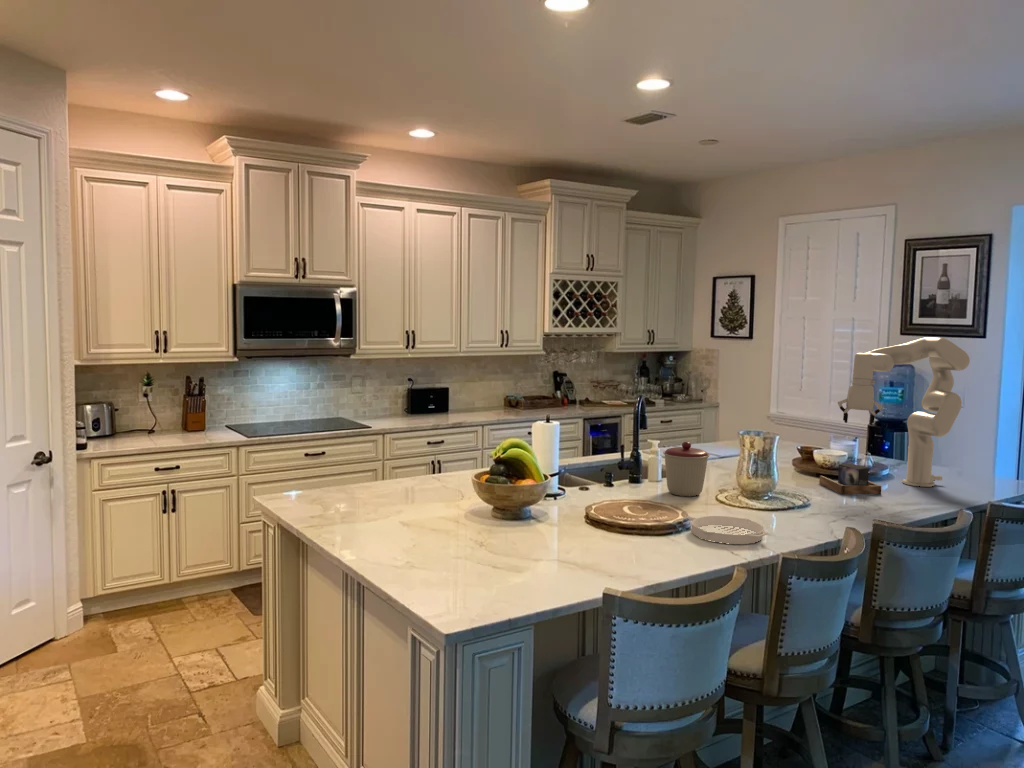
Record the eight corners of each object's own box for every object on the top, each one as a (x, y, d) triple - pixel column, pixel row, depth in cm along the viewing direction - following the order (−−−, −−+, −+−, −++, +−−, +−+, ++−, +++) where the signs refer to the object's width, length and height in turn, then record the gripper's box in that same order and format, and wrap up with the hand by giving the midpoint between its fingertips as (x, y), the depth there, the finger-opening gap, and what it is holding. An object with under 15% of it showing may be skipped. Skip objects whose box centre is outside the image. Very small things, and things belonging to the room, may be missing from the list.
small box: (836, 488, 326) (837, 463, 325) (847, 487, 328) (849, 462, 327) (857, 493, 316) (858, 468, 315) (868, 492, 319) (869, 467, 318)
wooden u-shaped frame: (856, 483, 335) (856, 475, 335) (880, 494, 315) (881, 486, 315) (819, 483, 334) (819, 475, 334) (841, 494, 314) (842, 485, 314)
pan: (742, 552, 234) (742, 541, 234) (635, 524, 264) (636, 513, 264) (783, 538, 250) (784, 527, 250) (678, 512, 281) (679, 503, 280)
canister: (684, 501, 298) (686, 447, 296) (652, 491, 313) (654, 440, 311) (717, 496, 307) (719, 443, 306) (684, 487, 323) (686, 437, 321)
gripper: (882, 383, 324) (879, 424, 325) (838, 380, 328) (834, 420, 330) (886, 385, 316) (882, 426, 318) (840, 381, 321) (837, 422, 322)
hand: (858, 423), depth 324 cm, fingers open, 9 cm apart
